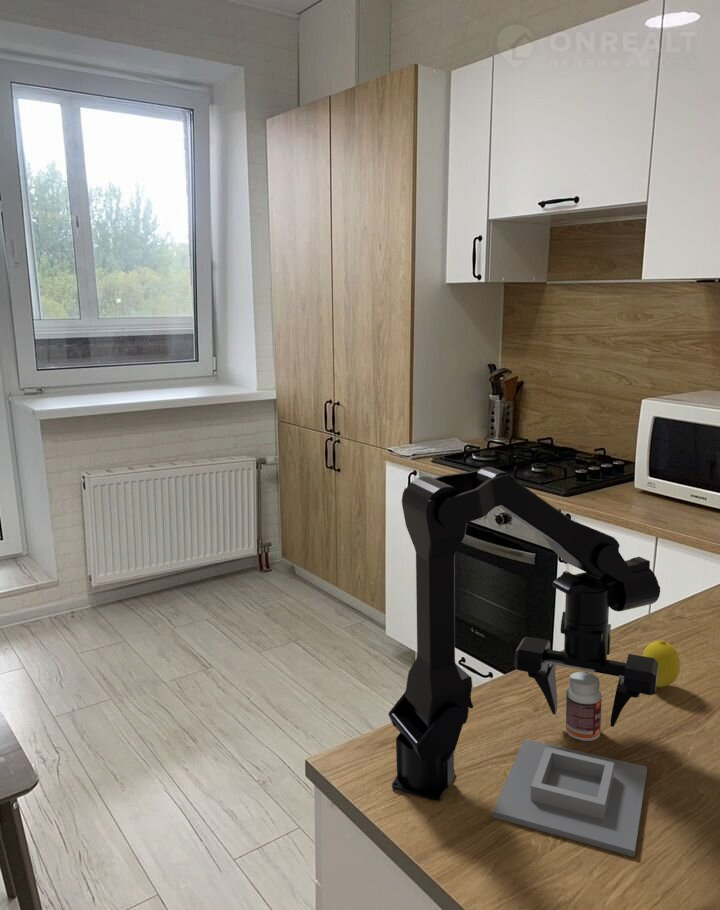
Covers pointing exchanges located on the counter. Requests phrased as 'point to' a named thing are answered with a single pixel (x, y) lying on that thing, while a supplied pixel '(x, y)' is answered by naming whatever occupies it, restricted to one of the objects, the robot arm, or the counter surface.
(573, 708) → the pill bottle
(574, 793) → the bottle stand
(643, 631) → the counter surface
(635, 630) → the counter surface
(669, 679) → the lemon
